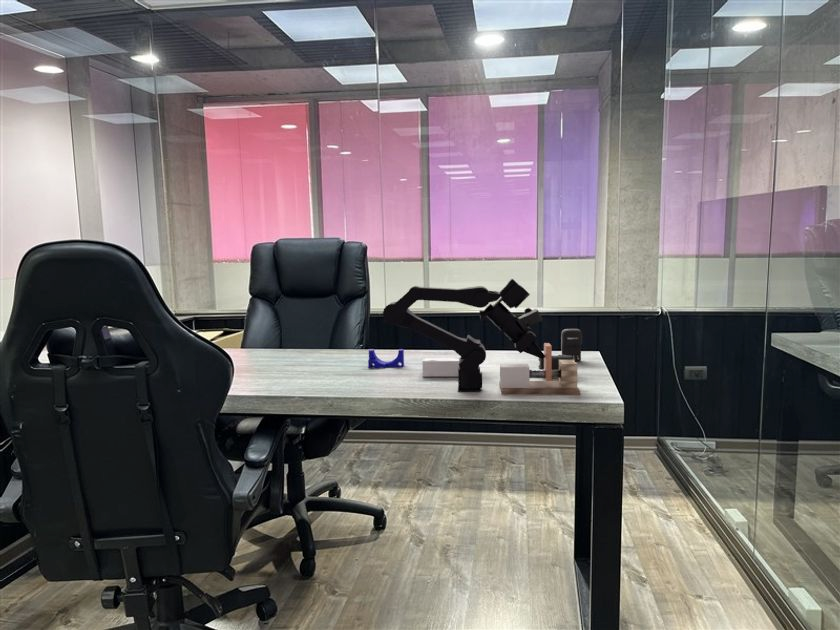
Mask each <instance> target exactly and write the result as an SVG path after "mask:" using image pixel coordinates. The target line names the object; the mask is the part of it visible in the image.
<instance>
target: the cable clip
mask: <svg viewBox="0 0 840 630" xmlns="http://www.w3.org/2000/svg"><path fill="white" fill-rule="evenodd" d="M404 351H405V350H404V348H399V349H398V352H397V356H396V357H395V358H394V359H392V360H390V361H386V360H385V361H384V360H381V359H380V358H379V357H378V356H377V354H376V351H375V349H373V348H372V349H369V350H368V359H367V365H368V369H386V368H404V366H405V352H404Z"/></svg>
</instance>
